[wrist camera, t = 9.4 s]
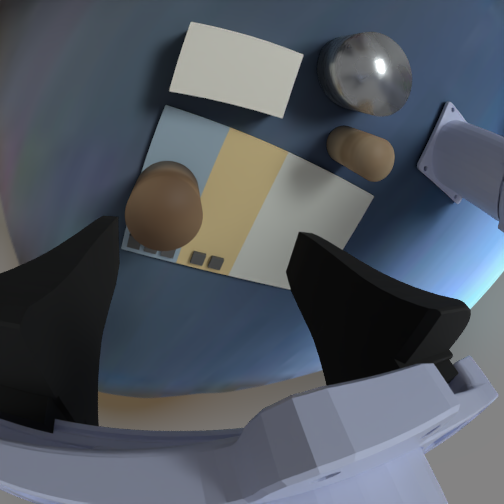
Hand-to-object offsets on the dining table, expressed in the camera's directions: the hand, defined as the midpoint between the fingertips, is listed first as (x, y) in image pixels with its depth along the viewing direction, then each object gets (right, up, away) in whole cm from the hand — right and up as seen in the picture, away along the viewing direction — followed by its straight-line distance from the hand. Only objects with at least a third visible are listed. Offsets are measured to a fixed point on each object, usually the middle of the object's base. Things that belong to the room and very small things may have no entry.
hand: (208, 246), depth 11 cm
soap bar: (0, +12, +5) cm, 13 cm away
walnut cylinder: (-4, +4, +8) cm, 10 cm away
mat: (+2, +3, +11) cm, 11 cm away
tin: (+9, +13, +6) cm, 17 cm away
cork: (+9, +8, +9) cm, 15 cm away
